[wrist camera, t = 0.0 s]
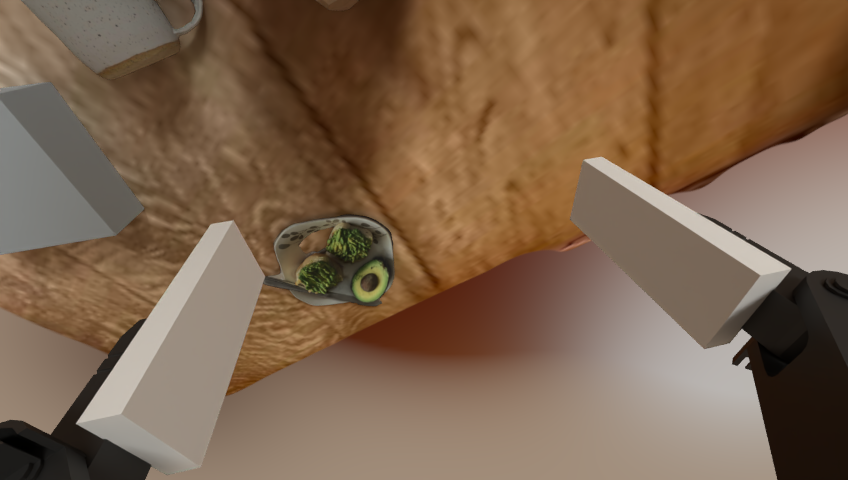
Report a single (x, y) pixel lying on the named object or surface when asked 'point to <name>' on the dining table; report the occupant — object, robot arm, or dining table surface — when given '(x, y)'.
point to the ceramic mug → (113, 32)
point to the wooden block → (337, 4)
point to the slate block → (54, 175)
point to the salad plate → (336, 262)
